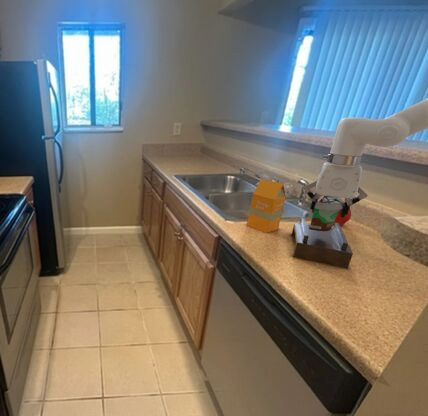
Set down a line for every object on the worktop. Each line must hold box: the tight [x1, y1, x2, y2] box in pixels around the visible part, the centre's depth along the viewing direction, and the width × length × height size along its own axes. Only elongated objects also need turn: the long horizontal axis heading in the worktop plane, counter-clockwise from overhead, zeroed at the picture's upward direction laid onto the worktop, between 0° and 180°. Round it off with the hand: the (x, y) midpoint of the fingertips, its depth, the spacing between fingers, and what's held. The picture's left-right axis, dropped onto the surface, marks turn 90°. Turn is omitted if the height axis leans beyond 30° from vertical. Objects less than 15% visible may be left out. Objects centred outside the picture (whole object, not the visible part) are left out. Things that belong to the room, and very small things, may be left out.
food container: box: [309, 196, 344, 231], centre depth 90 cm, size 12×6×10 cm, turn 133°
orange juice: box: [246, 178, 287, 234], centre depth 109 cm, size 8×9×20 cm
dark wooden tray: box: [291, 217, 354, 270], centre depth 94 cm, size 14×19×8 cm
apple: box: [332, 201, 352, 227], centre depth 113 cm, size 8×8×11 cm
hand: (327, 213), depth 90 cm, fingers closed on food container, 6 cm apart
